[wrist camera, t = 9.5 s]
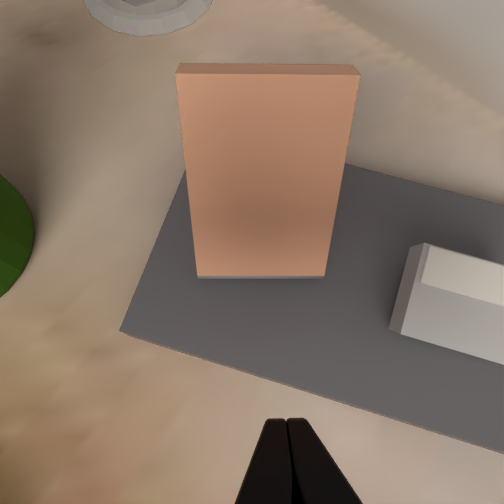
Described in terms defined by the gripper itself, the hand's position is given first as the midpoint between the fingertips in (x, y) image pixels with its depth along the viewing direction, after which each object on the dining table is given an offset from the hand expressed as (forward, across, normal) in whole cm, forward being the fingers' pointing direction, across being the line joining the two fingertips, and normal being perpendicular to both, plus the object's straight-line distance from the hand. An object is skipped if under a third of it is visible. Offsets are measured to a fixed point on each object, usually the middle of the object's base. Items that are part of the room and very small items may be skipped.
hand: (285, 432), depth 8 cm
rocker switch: (+10, -9, +3) cm, 14 cm away
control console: (+12, -9, +5) cm, 15 cm away
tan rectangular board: (+11, 0, +2) cm, 11 cm away
